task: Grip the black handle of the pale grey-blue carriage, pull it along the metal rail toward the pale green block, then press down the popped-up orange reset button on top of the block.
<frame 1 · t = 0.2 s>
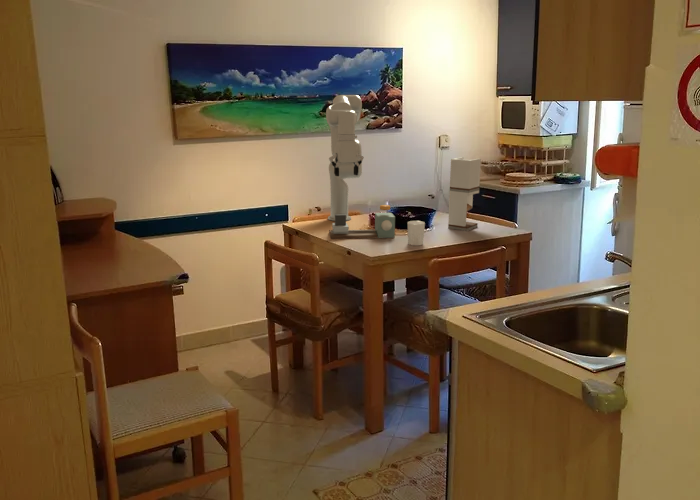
hand: (346, 175, 307), 30 cm above the table, tool pointing down, fingers open, 9 cm apart
carriage: (340, 223, 317), point 6 cm above the table, slide at 0.0 cm
white cup: (415, 244, 303), on the table
rail board: (352, 235, 319), on the table
pale green block: (384, 235, 320), on the table
coffee grinder: (462, 228, 338), on the table
reset button: (385, 207, 317), point 14 cm above the table, slide at 0.0 cm
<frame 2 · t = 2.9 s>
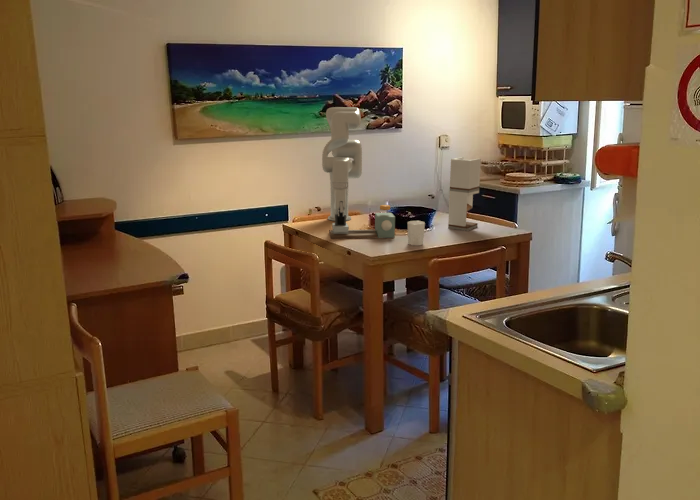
hand: (340, 223, 317), 6 cm above the table, tool pointing down, fingers closed on carriage, 3 cm apart
carriage: (340, 223, 317), point 6 cm above the table, slide at 0.0 cm, touching gripper
everything else where it was.
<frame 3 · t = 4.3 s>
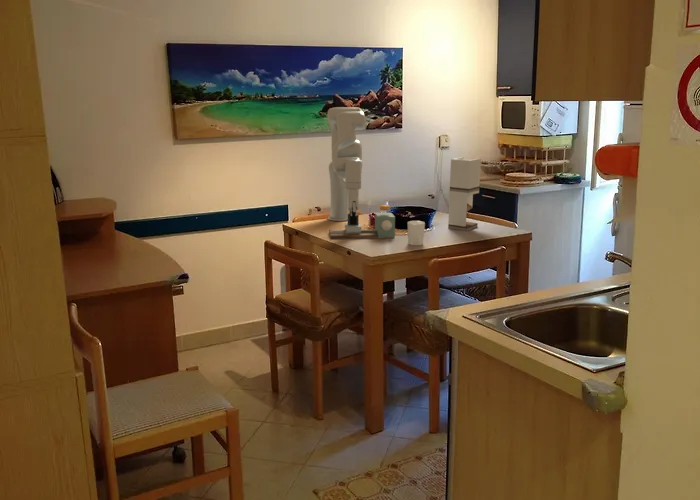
hand: (353, 223, 317), 6 cm above the table, tool pointing down, fingers closed on carriage, 3 cm apart
carriage: (353, 223, 317), point 6 cm above the table, slide at 6.1 cm, touching gripper
everything else where it was.
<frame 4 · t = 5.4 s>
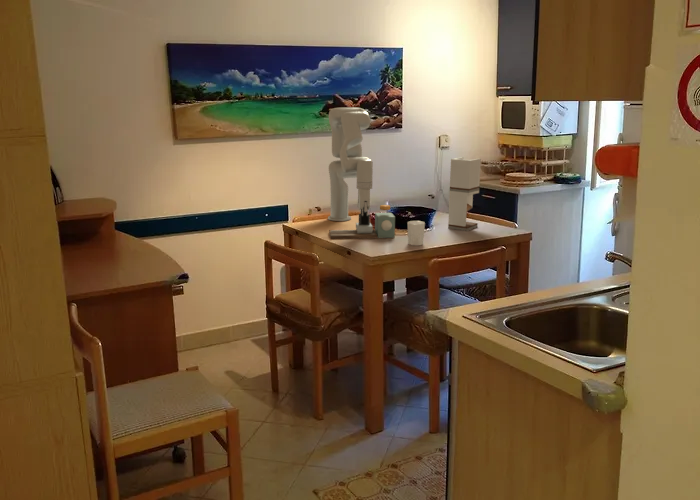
hand: (364, 222, 318), 6 cm above the table, tool pointing down, fingers closed on carriage, 3 cm apart
carriage: (364, 223, 318), point 6 cm above the table, slide at 11.5 cm, touching gripper
everything else where it was.
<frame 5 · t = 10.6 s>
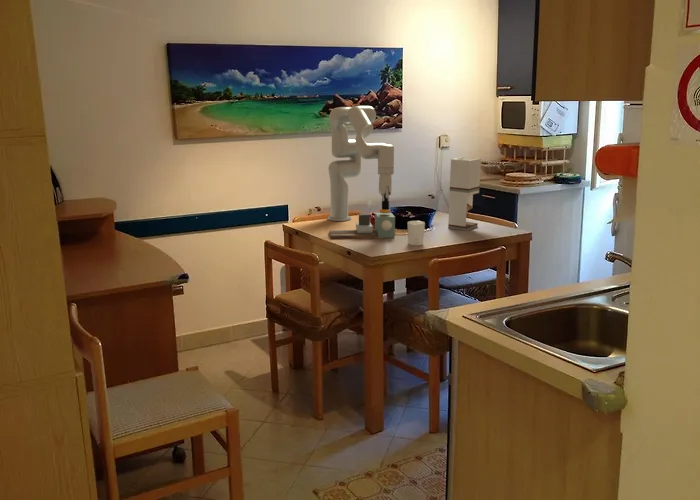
hand: (385, 209, 317), 13 cm above the table, tool pointing down, fingers closed
carriage: (364, 223, 318), point 6 cm above the table, slide at 11.5 cm
reset button: (385, 210, 317), point 12 cm above the table, slide at 1.6 cm, touching gripper
everything else where it was.
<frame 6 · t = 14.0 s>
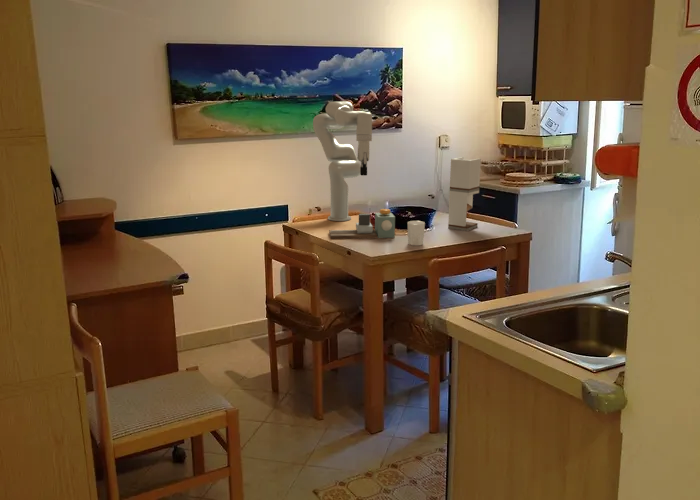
hand: (363, 175, 328), 27 cm above the table, tool pointing down, fingers closed
reset button: (385, 211, 317), point 12 cm above the table, slide at 2.0 cm
everything else where it was.
at the end: carriage slide at 11.5 cm; reset button slide at 2.0 cm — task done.
